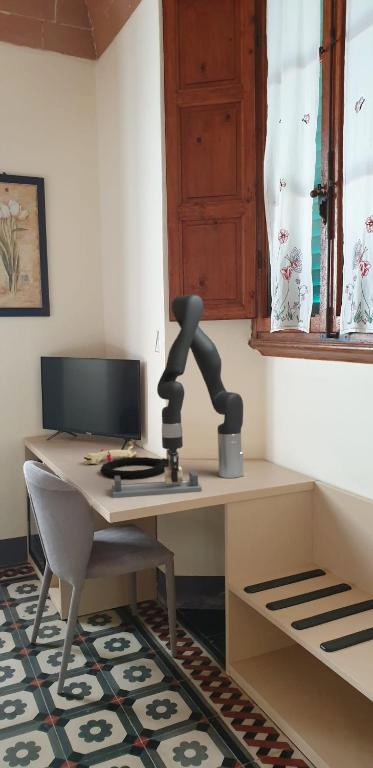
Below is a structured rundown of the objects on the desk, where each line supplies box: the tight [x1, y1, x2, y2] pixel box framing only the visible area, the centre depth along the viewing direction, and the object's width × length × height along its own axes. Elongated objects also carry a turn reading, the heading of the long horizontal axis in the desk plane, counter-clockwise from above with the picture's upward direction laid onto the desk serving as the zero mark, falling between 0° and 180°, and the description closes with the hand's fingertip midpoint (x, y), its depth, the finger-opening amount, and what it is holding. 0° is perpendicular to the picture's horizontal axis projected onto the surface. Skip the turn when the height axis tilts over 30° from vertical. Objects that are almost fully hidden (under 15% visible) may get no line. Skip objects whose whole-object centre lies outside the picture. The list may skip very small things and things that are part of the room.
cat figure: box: [83, 440, 138, 465], centre depth 291 cm, size 10×9×25 cm
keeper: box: [164, 465, 184, 484], centre depth 240 cm, size 6×5×7 cm
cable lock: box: [100, 456, 169, 480], centre depth 271 cm, size 28×4×30 cm
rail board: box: [111, 469, 203, 499], centre depth 240 cm, size 32×12×6 cm, turn 98°
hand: (173, 479), depth 241 cm, fingers closed on keeper, 5 cm apart
